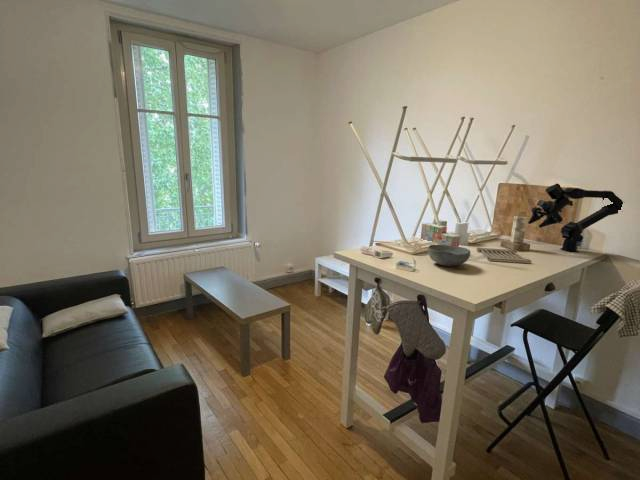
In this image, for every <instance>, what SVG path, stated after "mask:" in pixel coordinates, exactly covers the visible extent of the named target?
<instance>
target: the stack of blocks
mask: <svg viewBox="0 0 640 480" xmlns="http://www.w3.org/2000/svg"><path fill="white" fill-rule="evenodd" d="M447 228H448V227H445V226H441V225H440V226H439V225H436V224H434V223H431V222H426V223H422V224H421V229H420V240H421V239H423V240H427V241H432V242H435V243H437V244H438V245H450V246H457V247H460V245H459V241H460V236H458V235H455V234H452V233H450V232H447V230H448V229H447Z"/></svg>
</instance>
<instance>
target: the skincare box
mask: <svg viewBox="0 0 640 480" xmlns="http://www.w3.org/2000/svg"><path fill="white" fill-rule="evenodd" d="M438 220H439V223H440V225H441V226H445V227H447V225H448V221H447V220H443V219H438ZM433 224H436V225H437V222H436V221H435V220H434V222H433ZM447 228H448V227H447Z"/></svg>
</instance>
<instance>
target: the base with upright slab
mask: <svg viewBox="0 0 640 480" xmlns="http://www.w3.org/2000/svg"><path fill="white" fill-rule="evenodd" d="M468 227H469V222H467V221H461V223H459V222H455V228H454V231H452V233H451V234H455V235H458V236H460V241H459V246H467V245H468V244H469V238H470V233H469V232H468V230H469V229H468Z"/></svg>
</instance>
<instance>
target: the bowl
mask: <svg viewBox="0 0 640 480" xmlns="http://www.w3.org/2000/svg"><path fill="white" fill-rule="evenodd" d="M427 252H428V255H429V258H430V259H431V260H432V261H433V262H435V263H436V264H438V265H440V266H444V267H455V266H459V265H462V264H464V263H466V262H467V261H468V260H469V258H470V256H471V250H470V249H468V248H466V247H462V246H459V247H457V246H450V245H430V246H429V247H427Z"/></svg>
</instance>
